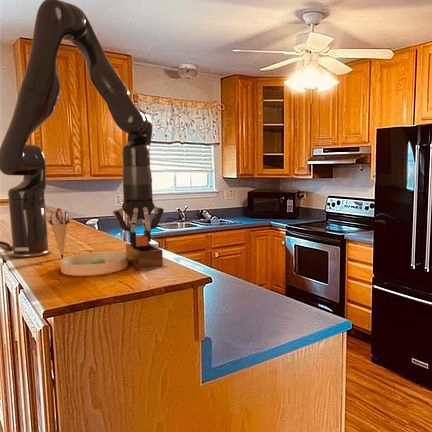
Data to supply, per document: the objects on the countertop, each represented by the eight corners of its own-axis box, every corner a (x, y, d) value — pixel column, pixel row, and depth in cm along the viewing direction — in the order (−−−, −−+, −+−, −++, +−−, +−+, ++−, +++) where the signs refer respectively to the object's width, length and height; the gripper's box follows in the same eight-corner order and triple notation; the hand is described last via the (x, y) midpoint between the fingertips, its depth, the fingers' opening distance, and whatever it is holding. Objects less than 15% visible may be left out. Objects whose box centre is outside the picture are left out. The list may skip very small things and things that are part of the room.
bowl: (57, 267, 114) (56, 256, 113) (120, 259, 123) (120, 249, 122) (65, 280, 100) (64, 268, 100) (135, 270, 109) (134, 259, 109)
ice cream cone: (78, 258, 124) (74, 207, 122) (61, 262, 118) (58, 209, 117) (62, 257, 126) (59, 206, 124) (46, 261, 120) (42, 208, 118)
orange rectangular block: (133, 244, 119) (132, 235, 119) (144, 243, 121) (143, 234, 120) (136, 246, 116) (136, 237, 116) (148, 245, 118) (147, 236, 117)
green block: (90, 268, 110) (89, 259, 109) (102, 267, 111) (102, 258, 111) (92, 271, 106) (92, 262, 106) (105, 270, 108) (105, 260, 108)
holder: (126, 260, 120) (125, 244, 120) (148, 258, 124) (147, 242, 123) (139, 270, 109) (138, 252, 109) (163, 267, 113) (162, 249, 112)
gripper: (158, 181, 123) (161, 240, 125) (107, 182, 115) (110, 245, 118) (167, 182, 117) (169, 244, 119) (113, 184, 109) (117, 249, 111)
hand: (140, 244), depth 118 cm, fingers closed on orange rectangular block, 3 cm apart
